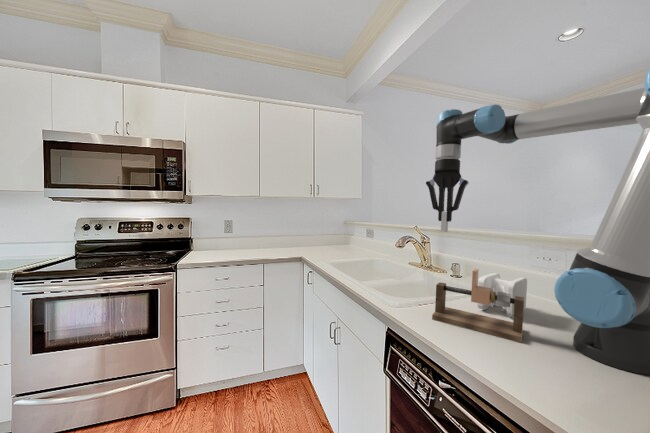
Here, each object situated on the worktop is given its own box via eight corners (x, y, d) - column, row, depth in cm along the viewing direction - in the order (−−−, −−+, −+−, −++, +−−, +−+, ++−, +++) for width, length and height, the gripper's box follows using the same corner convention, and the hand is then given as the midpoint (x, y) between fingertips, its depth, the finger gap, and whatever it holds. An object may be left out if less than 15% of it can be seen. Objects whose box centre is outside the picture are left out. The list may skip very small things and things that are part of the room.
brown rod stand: (522, 329, 77) (524, 293, 76) (521, 342, 69) (523, 302, 68) (440, 310, 90) (442, 279, 90) (432, 319, 82) (433, 285, 82)
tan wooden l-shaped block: (490, 301, 79) (492, 271, 78) (489, 305, 75) (490, 273, 75) (473, 298, 81) (474, 268, 81) (471, 301, 78) (472, 270, 78)
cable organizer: (511, 321, 83) (513, 283, 82) (474, 310, 91) (476, 276, 90) (526, 311, 92) (528, 277, 92) (492, 302, 100) (493, 271, 100)
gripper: (471, 160, 88) (468, 232, 88) (430, 163, 95) (427, 229, 96) (467, 156, 82) (463, 233, 82) (423, 159, 89) (420, 230, 90)
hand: (444, 231), depth 89 cm, fingers closed
